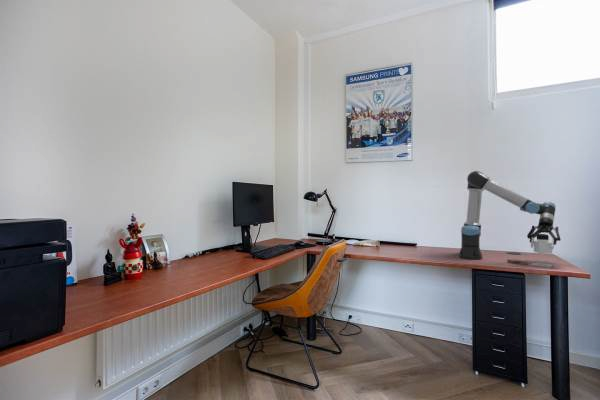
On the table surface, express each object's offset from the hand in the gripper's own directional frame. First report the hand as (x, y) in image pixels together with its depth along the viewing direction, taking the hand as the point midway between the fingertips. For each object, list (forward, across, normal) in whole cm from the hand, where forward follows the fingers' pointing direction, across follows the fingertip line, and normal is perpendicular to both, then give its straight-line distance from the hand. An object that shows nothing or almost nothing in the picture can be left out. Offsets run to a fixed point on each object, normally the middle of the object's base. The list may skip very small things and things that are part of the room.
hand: (541, 247), depth 192 cm
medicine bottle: (+1, 0, -5) cm, 5 cm away
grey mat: (+7, 0, -11) cm, 13 cm away
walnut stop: (+11, +12, -7) cm, 18 cm away
